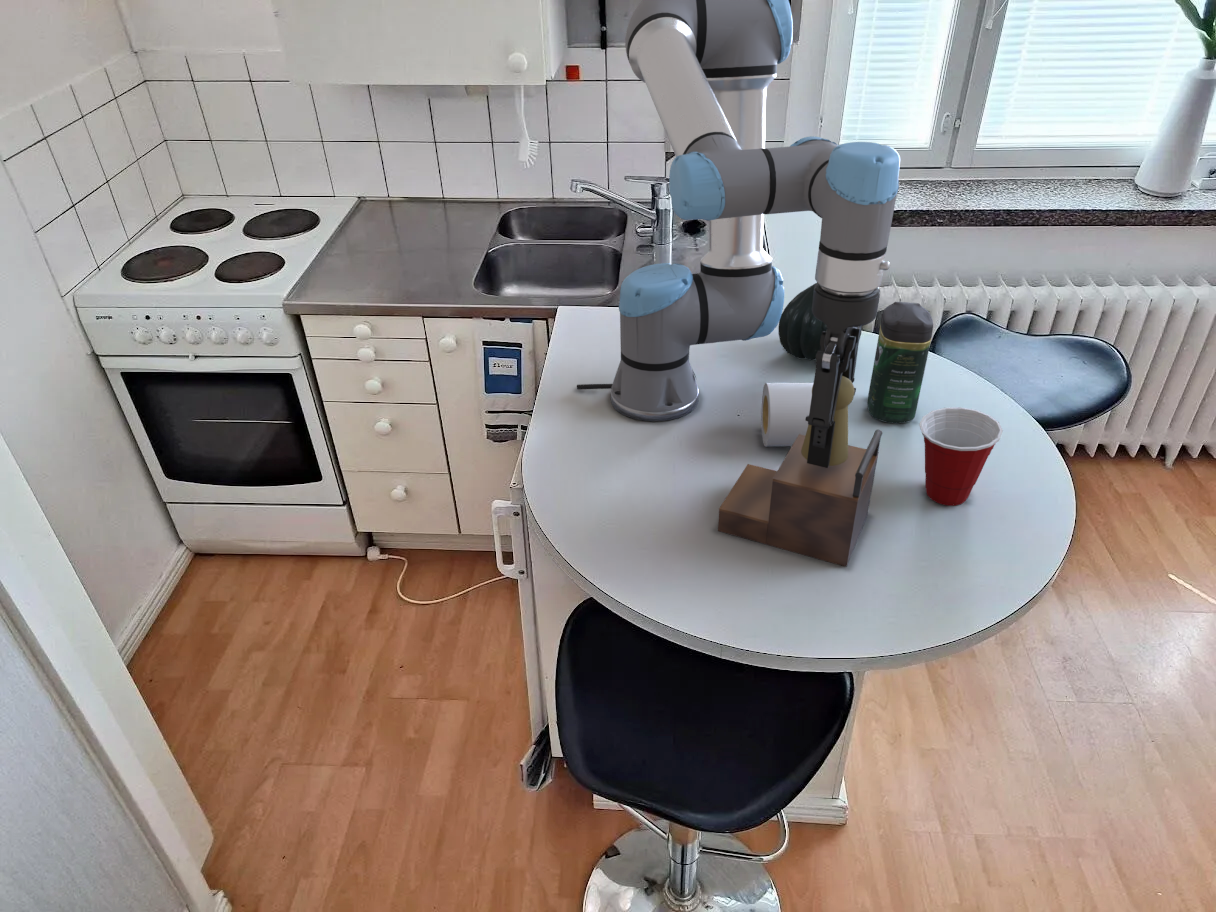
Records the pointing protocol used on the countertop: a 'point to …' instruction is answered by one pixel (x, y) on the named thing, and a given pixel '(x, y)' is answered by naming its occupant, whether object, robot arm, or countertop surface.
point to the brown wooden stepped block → (804, 503)
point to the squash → (801, 327)
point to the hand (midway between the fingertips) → (824, 450)
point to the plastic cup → (956, 451)
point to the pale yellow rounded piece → (837, 425)
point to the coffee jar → (899, 362)
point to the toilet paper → (784, 412)
